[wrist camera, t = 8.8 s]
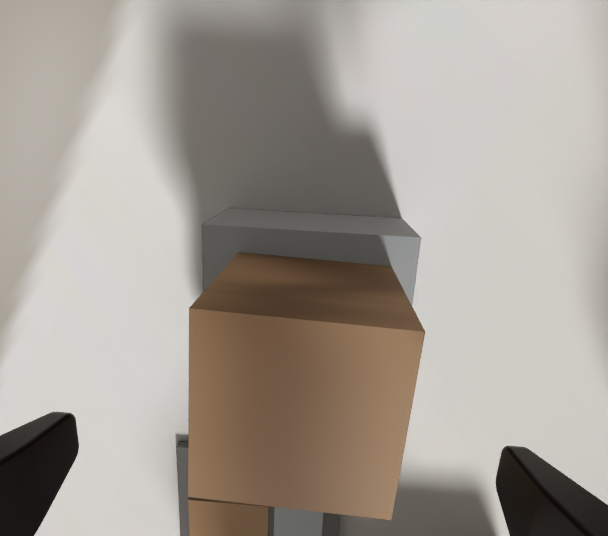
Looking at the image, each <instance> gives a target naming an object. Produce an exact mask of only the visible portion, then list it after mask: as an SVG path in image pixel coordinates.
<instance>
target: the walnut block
mask: <svg viewBox="0 0 608 536" xmlns="http://www.w3.org/2000/svg"><path fill="white" fill-rule="evenodd" d="M424 335H425V331H424V329H423V327H422V325H421V323H420V321H419V319H418V317H417V315H416V313H415V311H414V309H413V307H412V305H411V303H410V301H409V299H408V298H407V296H406V294H405V292H404V290H403V288H402V286H401V284H400V282H399V280H398V278H397V276H396V274H395V272H394V270H393V268H392V266H381V265H371V264H360V263H350V262H339V261H329V260H318V259H308V258H297V257H287V256H276V255H266V254H255V253H245V252H238V253H237V254H236V255H235V256H234V258H233V259H232V260H231V261H230V262H229V263H228V264H227V266H226V267H225V268H224V269H223V270H222V271H221V272H220V274H219V275H218V276H217V277H216V278H215V279H214V281H213V282H212V283H211V284H210V285H209V286H208V287H207V289H206V290H205V291H204V292H203V293H202V294H201V295H200V297H199V298H198V299H197V300H196V301H195V302H194V303H193V305H192V306H191V307H190V308H189V447H188V497H194V498H203V499H212V500H220V501H229V502H237V503H246V504H255V505H263V506H272V507H281V508H289V509H298V510H306V511H315V512H324V513H332V514H341V515H350V516H358V517H367V518H375V519H384V520H392V515H393V509H394V503H395V498H396V492H397V487H398V481H399V475H400V470H401V464H402V459H403V453H404V447H405V442H406V436H407V430H408V425H409V419H410V414H411V408H412V402H413V397H414V391H415V386H416V380H417V374H418V369H419V363H420V358H421V352H422V346H423V341H424Z"/></svg>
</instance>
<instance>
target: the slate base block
mask: <svg viewBox="0 0 608 536" xmlns="http://www.w3.org/2000/svg"><path fill="white" fill-rule="evenodd" d="M420 241H421V237H420V236H419V235H418V234H417V233H416V232H415V231H414V230H413V229H412V228H411V227H410V226H409V225H408V224H407V223H406V222H405V221H404V220H403V219H402V218H392V217H375V216H358V215H341V214H323V213H306V212H289V211H272V210H255V209H237V208H228V209H226V210H225V211H223V212H222V213H220V214H218V215H217V216H215V217H213V218H212V219H210V220H209V221H207V222H205V223H204V224H202V243H203V292H204V291H205V290H206V289H207V287H208V286H209V285H210V284H211V283H212V282H213V281H214V279H215V278H216V277H217V276H218V275H219V274H220V272H221V271H222V270H223V269H224V268H225V267H226V266H227V264H228V263H229V262H230V261H231V260H232V259H233V258H234V256H235V255H236V254H237V253H238V252H245V253H255V254H266V255H276V256H287V257H297V258H308V259H318V260H329V261H339V262H350V263H360V264H371V265H381V266H392V268H393V270H394V272H395V274H396V276H397V278H398V280H399V282H400V284H401V286H402V288H403V290H404V292H405V294H406V296H407V298H408V299H409V301H410V303H411V305H412V303H413V295H414V287H415V280H416V272H417V264H418V257H419V249H420Z"/></svg>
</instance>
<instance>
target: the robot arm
mask: <svg viewBox="0 0 608 536" xmlns="http://www.w3.org/2000/svg"><path fill="white" fill-rule="evenodd" d="M78 449H79V443H78V435H77V427H76V420H75V417H74V415H73V414H71V413H65V412H52V413H49V414H47V415H45V416H43V417H40V418H38V419H36V420H34V421H32V422H29V423H27V424H25V425H23V426H21V427H18V428H16V429H14V430H12V431H10V432H7V433H5V434H3V435H1V436H0V536H34V535H35V533H36V531H37V530H38V528H39V526H40V524H41V523H42V521H43V519H44V517H45V516H46V514H47V512H48V510H49V508H50V506H51V504H52V502H53V500H54V499H55V497H56V495H57V493H58V491H59V489H60V487H61V485H62V483H63V481H64V480H65V478H66V476H67V474H68V472H69V470H70V468H71V466H72V464H73V463H74V461H75V459H76V456H77V454H78ZM496 489H497V493H498V496H499V500H500V503H501V507H502V510H503V513H504V517H505V520H506V524H507V527H508V530H509V534H510V536H608V505H607V504H605V503H604V502H602V501H601V500H600V499H598V498H597V497H595V496H594V495H592V494H591V493H590V492H588V491H587V490H585V489H584V488H583V487H581V486H580V485H578V484H577V483H576V482H574V481H573V480H571V479H570V478H568V477H567V476H566V475H564V474H563V473H561V472H560V471H559V470H557V469H556V468H554V467H553V466H551V465H550V464H549V463H547V462H546V461H544V460H543V459H542V458H540V457H539V456H537V455H536V454H535V453H533V452H532V451H530V450H529V449H527V448H525V447H517V446H506V447H504V448H503V450H502V453H501V457H500V462H499V467H498V471H497V476H496Z"/></svg>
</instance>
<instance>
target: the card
mask: <svg viewBox="0 0 608 536" xmlns="http://www.w3.org/2000/svg"><path fill="white" fill-rule="evenodd" d="M188 447H189V442H180V441H179V443H178V445H177V447H176V448H177V469H178V489H179V510H180V530H181V536H338V527H339V516H340V514H332V513H324V512H315V511H306V510H298V509H289V508H281V507H272V506H263V505H255V504H246V503H237V502H229V501H220V500H212V499H203V498H194V497H188Z"/></svg>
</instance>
